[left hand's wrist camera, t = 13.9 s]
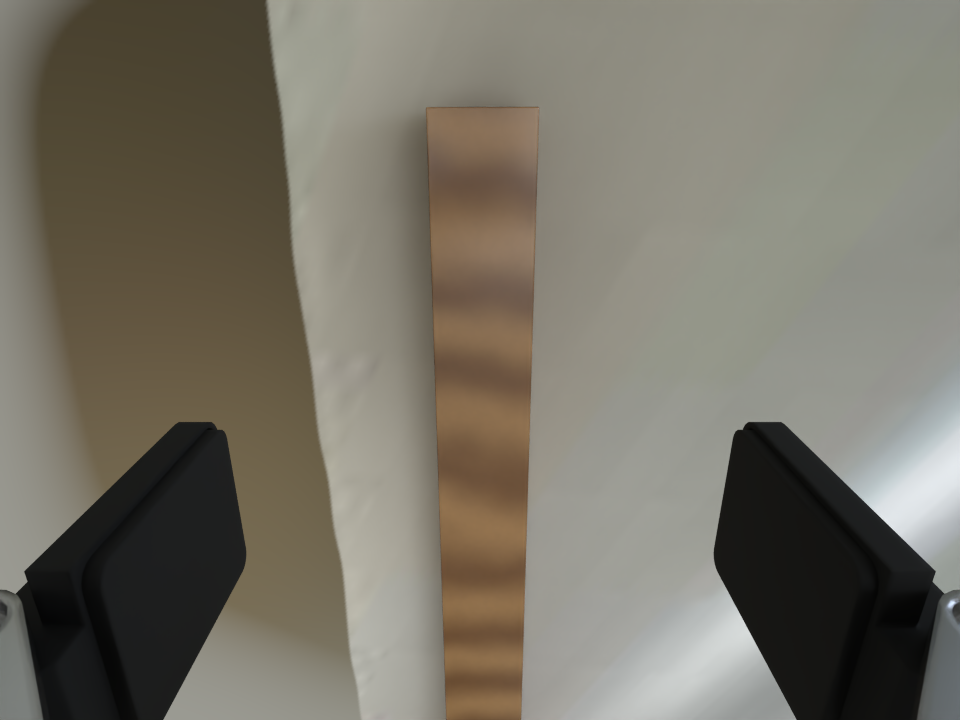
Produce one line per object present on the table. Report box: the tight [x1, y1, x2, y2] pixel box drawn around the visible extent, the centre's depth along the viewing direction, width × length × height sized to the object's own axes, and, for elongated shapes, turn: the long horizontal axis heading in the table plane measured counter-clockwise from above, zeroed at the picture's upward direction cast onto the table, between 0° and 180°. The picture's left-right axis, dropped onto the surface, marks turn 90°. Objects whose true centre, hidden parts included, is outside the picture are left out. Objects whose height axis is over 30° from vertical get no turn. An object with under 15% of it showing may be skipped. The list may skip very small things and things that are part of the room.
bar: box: [426, 107, 539, 720], centre depth 43 cm, size 62×5×8 cm, turn 0°
